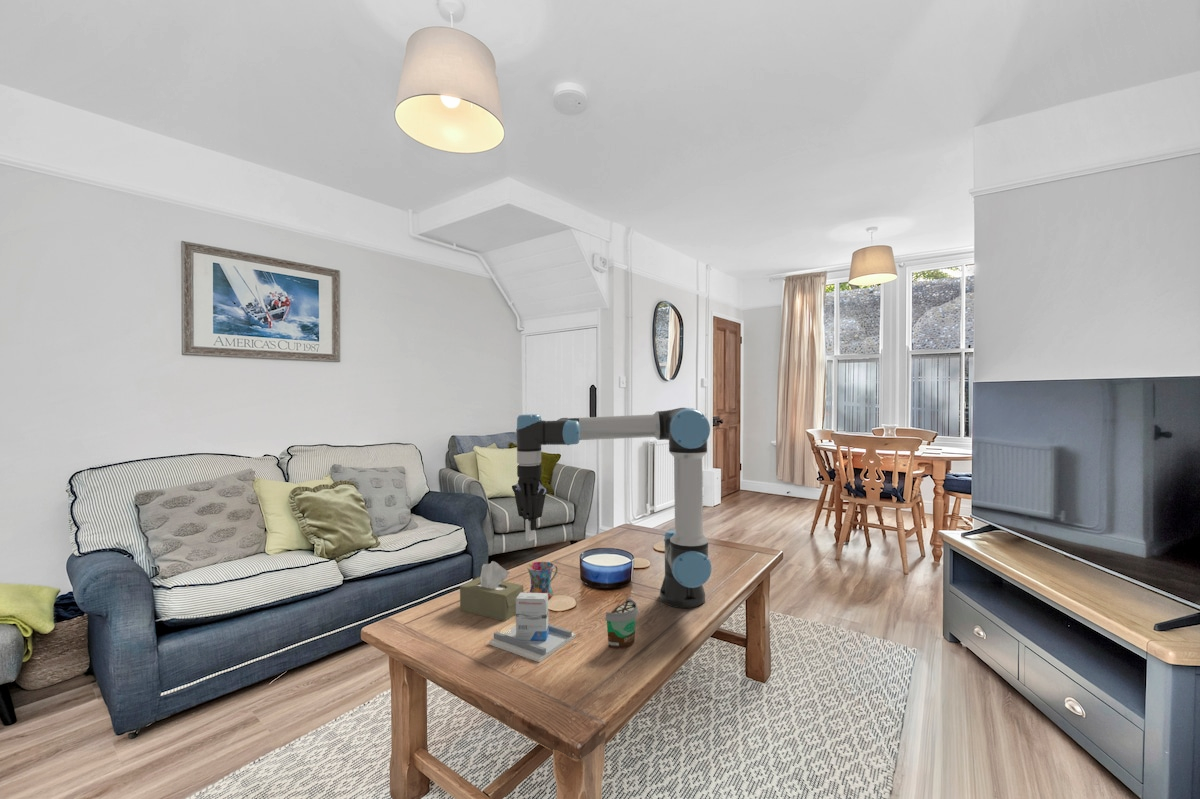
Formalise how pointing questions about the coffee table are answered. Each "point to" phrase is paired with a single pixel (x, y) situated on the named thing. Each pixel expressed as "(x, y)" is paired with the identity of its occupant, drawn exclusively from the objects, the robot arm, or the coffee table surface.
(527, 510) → the robot arm
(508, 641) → the rail mount
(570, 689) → the coffee table surface
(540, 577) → the mug
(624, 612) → the food container
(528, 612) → the ink box
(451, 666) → the coffee table surface
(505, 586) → the tissue box
